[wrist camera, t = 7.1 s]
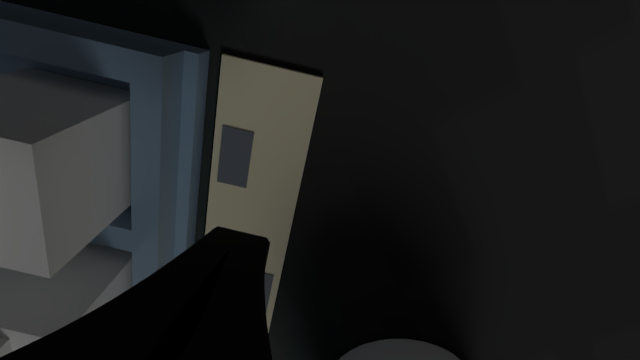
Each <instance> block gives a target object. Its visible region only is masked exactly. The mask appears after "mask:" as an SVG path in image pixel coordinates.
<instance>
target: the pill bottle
mask: <svg viewBox="0 0 640 360" xmlns="http://www.w3.org/2000/svg"><path fill="white" fill-rule="evenodd" d="M339 360H460V359H459V358H458V357H456V356H455V355H454V354H453V353H451V352H449V351H447V350H445V349H443V348H441V347H439V346H437V345H434V344H430V343H427V342H424V341H418V340H412V339H385V340H377V341H374V342H370V343H366V344H363V345H361V346H358V347H356V348H354V349H352V350H350V351H349V352H347V353H346V354H344V355H343V356H342V357H340V358H339Z"/></svg>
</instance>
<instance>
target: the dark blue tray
mask: <svg viewBox="0 0 640 360" xmlns="http://www.w3.org/2000/svg"><path fill="white" fill-rule="evenodd" d="M209 54H210V50H207V49H202V48H198V47H194V46H190V45H186V44H181V43H177V42H173V41H169V40H164V39H160V38H156V37H152V36H148V35H143V34H139V33H135V32H131V31H127V30H122V29H118V28H114V27H110V26H105V25H101V24H97V23H93V22H89V21H84V20H80V19H76V18H72V17H68V16H63V15H59V14H55V13H51V12H46V11H42V10H38V9H34V8H30V7H25V6H21V5H17V4H13V3H9V2H4V1H0V73H5V72H10V71H14V70H19V69H24V68H28V67H30V68H35V69H39V70H43V71H47V72H52V73H56V74H60V75H64V76H69V77H73V78H77V79H81V80H86V81H90V82H94V83H98V84H103V85H107V86H111V87H115V88H120V89H124V90H128V91H130V139H131V205H130V206H129V207H128V208H127V209H126V210H124V211H123V212H122V213H121V214H120V215H119V216H118V217H117V218H116V219H115V220H113V221H112V222H111V223H110V224H109V225H108V226H107V227H106V228H105V229H104V230H103V231H101V232H100V233H99V234H98V235H97V236H96V237H95V238H94V239H93V240H92V241H90V243H95V244H99V245H103V246H108V247H112V248H116V249H121V250H125V251H129V252H132V287H133V286H134V285H136V284H137V283H139V282H140V281H142V280H144V279H145V278H147V277H148V276H150V275H151V274H153V273H154V272H155V271H157V270H158V269H160V268H161V267H163V266H164V265H165V264H167V263H168V262H170V261H171V260H173V259H174V258H175V257H177V256H178V255H180V254H181V253H182V252H184V251H185V250H186V249H188V248H189V247H190V246H192V245H193V244H194V243H195V230H196V218H197V205H198V192H199V180H200V167H201V155H202V142H203V130H204V117H205V104H206V92H207V79H208V67H209ZM322 82H323V77H320V76H316V75H312V74H308V73H303V72H299V71H295V70H291V69H287V68H282V67H278V66H274V65H270V64H266V63H261V62H257V61H253V60H249V59H245V58H240V57H236V56H232V55H228V54H222V58H221V69H220V80H219V90H218V101H217V112H216V122H215V133H214V144H213V155H212V165H211V176H210V187H209V197H208V208H207V219H206V229H205V235H206V234H207V233H208V232H210V231H211V230H212V229H214V228H216V227H217V226H220V227H224V228H228V229H232V230H237V231H241V232H245V233H249V234H254V235H258V236H262V237H267V239H268V240H269V241H270V247H269V252H268V257H267V263H266V268H265V306H266V318H267V327H268V333H269V328H270V324H271V319H272V314H273V310H274V305H275V300H276V296H277V291H278V286H279V282H280V277H281V272H282V268H283V263H284V259H285V254H286V249H287V245H288V240H289V235H290V231H291V226H292V221H293V217H294V212H295V207H296V203H297V198H298V194H299V189H300V184H301V180H302V175H303V170H304V166H305V161H306V156H307V152H308V147H309V142H310V138H311V133H312V128H313V124H314V119H315V115H316V110H317V105H318V101H319V96H320V91H321V87H322Z"/></svg>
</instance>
